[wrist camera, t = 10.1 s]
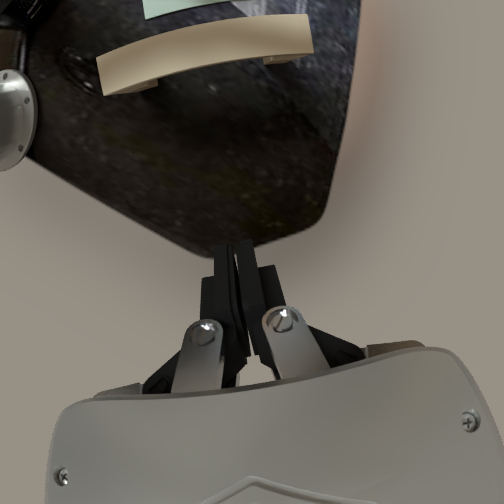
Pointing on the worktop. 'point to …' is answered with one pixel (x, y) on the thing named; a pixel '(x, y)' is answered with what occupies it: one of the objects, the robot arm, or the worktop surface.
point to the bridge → (204, 49)
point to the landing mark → (171, 6)
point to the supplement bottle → (25, 13)
